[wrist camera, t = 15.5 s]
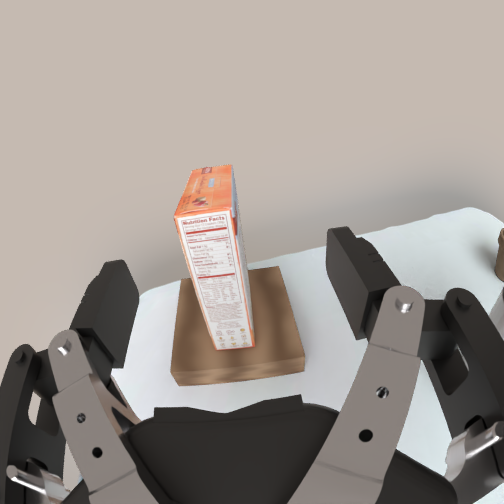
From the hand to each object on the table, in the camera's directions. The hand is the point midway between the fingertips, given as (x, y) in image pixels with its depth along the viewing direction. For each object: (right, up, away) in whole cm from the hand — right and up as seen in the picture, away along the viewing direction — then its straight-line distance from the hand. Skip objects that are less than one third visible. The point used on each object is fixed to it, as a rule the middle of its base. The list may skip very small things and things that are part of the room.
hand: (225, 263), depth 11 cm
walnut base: (-2, -12, +34) cm, 36 cm away
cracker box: (-2, -9, +31) cm, 33 cm away
